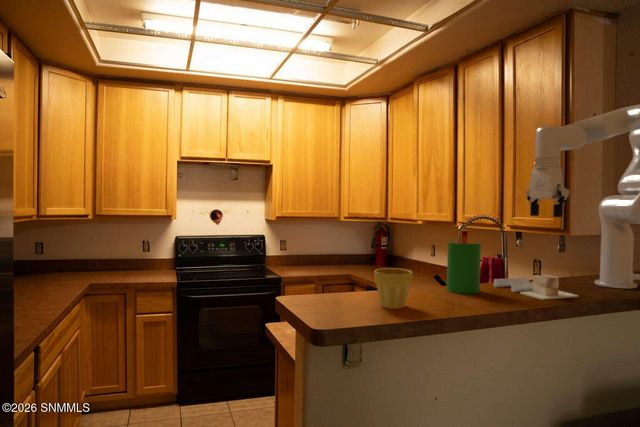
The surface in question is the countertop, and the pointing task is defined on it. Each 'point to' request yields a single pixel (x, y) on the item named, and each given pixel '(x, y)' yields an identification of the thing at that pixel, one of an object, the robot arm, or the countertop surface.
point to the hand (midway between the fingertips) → (545, 216)
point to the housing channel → (515, 284)
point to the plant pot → (393, 286)
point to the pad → (560, 295)
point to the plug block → (545, 285)
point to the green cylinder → (463, 266)
